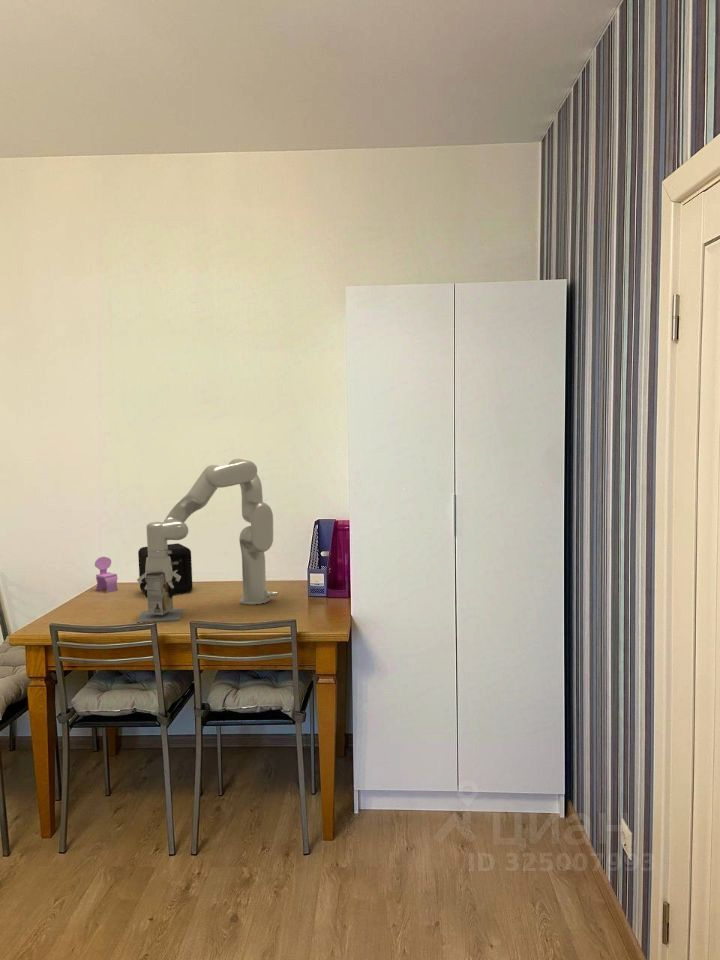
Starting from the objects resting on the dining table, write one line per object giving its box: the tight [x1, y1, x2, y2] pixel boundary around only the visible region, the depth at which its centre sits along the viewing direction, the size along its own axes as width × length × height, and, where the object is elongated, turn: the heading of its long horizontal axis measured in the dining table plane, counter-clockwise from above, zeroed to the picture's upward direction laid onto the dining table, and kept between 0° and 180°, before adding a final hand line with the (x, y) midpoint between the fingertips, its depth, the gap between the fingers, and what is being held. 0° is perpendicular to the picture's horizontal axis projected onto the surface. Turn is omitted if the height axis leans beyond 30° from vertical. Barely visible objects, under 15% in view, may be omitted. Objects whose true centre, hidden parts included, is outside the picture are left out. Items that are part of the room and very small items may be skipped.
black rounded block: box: [137, 542, 193, 595], centre depth 348 cm, size 20×15×20 cm
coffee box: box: [146, 573, 174, 615], centre depth 309 cm, size 9×6×16 cm
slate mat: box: [136, 608, 184, 624], centre depth 310 cm, size 16×16×1 cm
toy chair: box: [94, 556, 119, 594], centre depth 354 cm, size 8×9×15 cm
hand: (160, 598), depth 310 cm, fingers closed on coffee box, 8 cm apart
